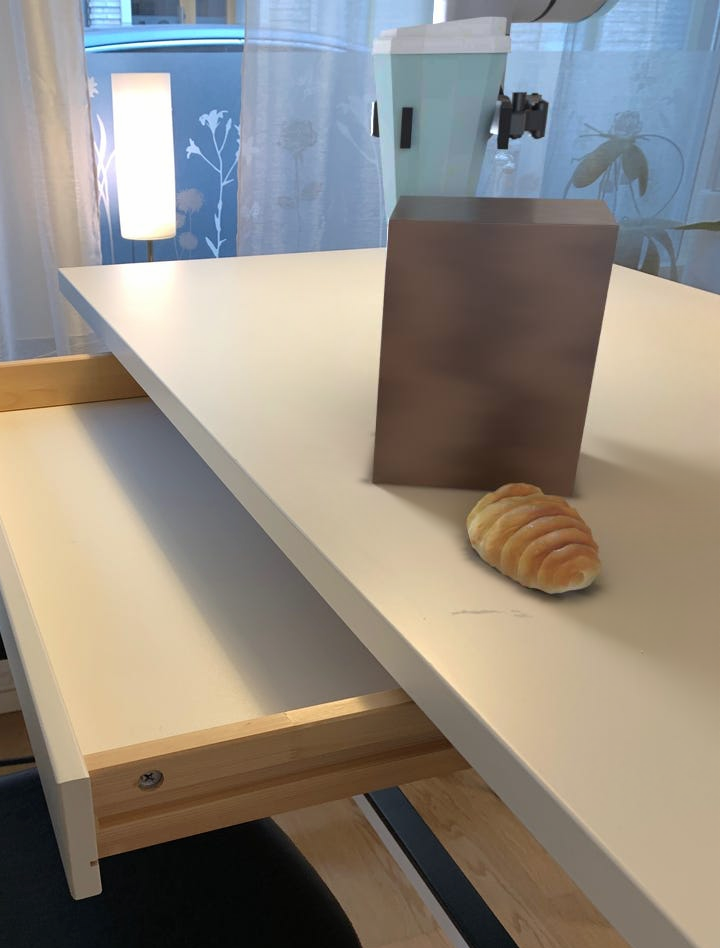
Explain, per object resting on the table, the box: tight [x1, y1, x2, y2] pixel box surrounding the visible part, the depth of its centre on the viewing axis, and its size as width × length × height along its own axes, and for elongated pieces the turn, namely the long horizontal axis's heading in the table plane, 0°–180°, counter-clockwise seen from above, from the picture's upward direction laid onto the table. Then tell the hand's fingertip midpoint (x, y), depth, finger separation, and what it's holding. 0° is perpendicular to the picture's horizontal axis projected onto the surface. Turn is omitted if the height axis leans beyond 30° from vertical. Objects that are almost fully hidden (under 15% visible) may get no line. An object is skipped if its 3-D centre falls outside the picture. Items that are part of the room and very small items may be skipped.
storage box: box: [371, 196, 620, 498], centre depth 78 cm, size 14×24×18 cm, turn 168°
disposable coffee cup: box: [371, 17, 512, 225], centre depth 80 cm, size 11×11×15 cm
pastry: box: [466, 483, 603, 595], centre depth 62 cm, size 9×7×4 cm
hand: (455, 128), depth 75 cm, fingers open, 6 cm apart
